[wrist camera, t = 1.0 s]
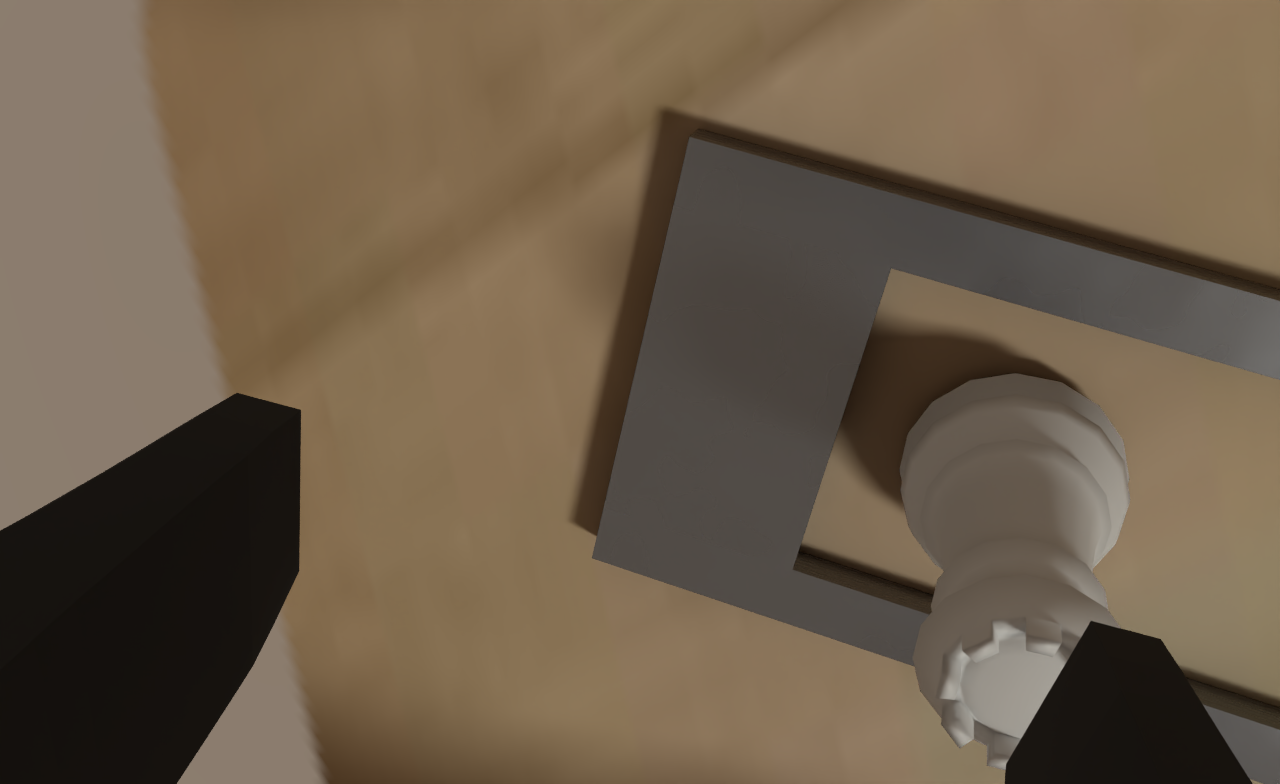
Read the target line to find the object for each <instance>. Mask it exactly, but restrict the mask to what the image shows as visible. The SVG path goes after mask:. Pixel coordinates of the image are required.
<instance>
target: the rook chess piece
mask: <svg viewBox="0 0 1280 784" xmlns="http://www.w3.org/2000/svg"><path fill="white" fill-rule="evenodd" d="M899 471H900V475H901V480H902V485H901V489H900V491H901V495H902V500H903V504H904V508H905V513H906V517H907V522H908V526H909V528H910V530H911V532H912V534H913V536H914V537H915V538H916V540H917V541H918V542H919V544H920V545H921V546H922V548H923V549H924V550H925V552H926V553H927V554H928V556H929V557H930V558H931V560H932V561H933V562H934V564H935V565H937V566H939V567H940V568H942V569H943V571H944V573H943V574H942V575H941V576H940V577H939V578H938V580H937V584H936V588H935V592H934V596H933V600H932V603H931V610H932V613H931V614H930V615H929V616H928V617H927V618H926V620H925V621H924V622H923V623H922V624H921V626H920V630H919V634H918V638H917V642H916V646H915V650H914V654H913V662H914V666H915V670H916V675H917V679H918V683H919V687H920V691H921V693H922V694H923V695H924V696H925V698H926V699H927V700H928V702H929V703H930V704H931V706H932V707H933V708H934V709H935V711H936V712H937V713H938V715H939V716H940V717H941V719H942V722H941V725H942V726H943V727H944V729H945V730H946V731H947V733H948V734H949V735H950V737H951V738H952V739H953V740H954V742H955V743H956V744H957V746H958V747H959V748H961V747H962V746H964V745H965V744H967V743H968V742H970V741H971V740H975V741H977V742H979V743H981V744H984V745H986V746H987V766H991V767H995V768H999V769H1003V770H1006V763H1007V762H1008V760H1009V758H1010V757H1011V755H1012V753H1013V751H1014V750H1015V748H1016V746H1017V745H1018V743H1019V741H1020V740H1021V738H1022V736H1023V735H1024V733H1025V731H1026V730H1027V728H1028V726H1029V724H1030V723H1031V721H1032V719H1033V718H1034V716H1035V714H1036V713H1037V711H1038V709H1039V708H1040V706H1041V704H1042V703H1043V701H1044V699H1045V697H1046V696H1047V694H1048V692H1049V691H1050V689H1051V687H1052V686H1053V684H1054V682H1055V681H1056V679H1057V677H1058V675H1059V674H1060V672H1061V670H1062V669H1063V667H1064V665H1065V664H1066V662H1067V660H1068V659H1069V657H1070V655H1071V654H1072V652H1073V650H1074V648H1075V647H1076V645H1077V643H1078V642H1079V640H1080V638H1081V637H1082V635H1083V633H1084V632H1085V630H1086V628H1087V627H1088V625H1089V623H1090V621H1094V622H1098V623H1102V624H1106V625H1109V626H1113V627H1117V628H1121V627H1120V626H1119V625H1118V623H1117V622H1116V620H1115V619H1114V618H1113V616H1112V615H1111V614H1110V612H1109V611H1108V605H1107V599H1106V593H1105V589H1104V588H1103V586H1102V585H1101V584H1100V582H1099V581H1098V579H1097V578H1096V577H1095V575H1094V574H1093V573H1092V572H1093V568H1094V567H1095V566H1096V565H1097V564H1098V562H1099V561H1100V560H1101V559H1102V558H1103V557H1104V556H1105V555H1106V554H1107V553H1108V552H1109V551H1110V550H1111V549H1112V548H1113V547H1114V546H1115V544H1116V541H1117V539H1118V536H1119V533H1120V530H1121V527H1122V524H1123V521H1124V518H1125V515H1126V512H1127V509H1128V506H1129V503H1130V494H1129V488H1128V482H1129V474H1128V468H1127V462H1126V455H1125V449H1124V442H1123V439H1122V438H1121V436H1120V435H1119V433H1118V432H1117V431H1116V429H1115V428H1114V426H1113V425H1112V423H1111V422H1110V421H1109V419H1108V418H1107V416H1106V415H1105V413H1104V412H1103V410H1102V409H1101V408H1100V406H1099V405H1097V404H1096V403H1094V402H1092V401H1091V400H1089V399H1088V398H1086V397H1084V396H1083V395H1081V394H1080V393H1078V392H1076V391H1075V390H1073V389H1072V388H1070V387H1068V386H1067V385H1065V384H1063V383H1062V382H1058V381H1053V380H1048V379H1043V378H1038V377H1033V376H1027V375H1022V374H1017V373H1013V374H1007V375H1001V376H994V377H988V378H982V379H975V380H970V381H968V382H966V383H964V384H963V385H961V386H959V387H957V388H956V389H954V390H952V391H950V392H949V393H947V394H945V395H943V396H942V397H940V398H938V399H936V400H934V401H933V402H932V403H931V404H930V405H929V407H928V408H927V409H926V411H925V412H924V413H923V414H922V416H921V417H920V418H919V420H918V421H917V422H916V423H915V425H914V426H913V427H912V429H911V430H910V431H909V432H908V435H907V439H906V443H905V448H904V452H903V456H902V461H901V465H900V470H899Z"/></svg>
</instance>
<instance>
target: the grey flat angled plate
mask: <svg viewBox="0 0 1280 784" xmlns="http://www.w3.org/2000/svg"><path fill="white" fill-rule="evenodd" d="M891 268H892V269H896V270H899V271H903V272H906V273H910V274H913V275H917V276H920V277H924V278H927V279H931V280H934V281H938V282H941V283H945V284H948V285H952V286H955V287H959V288H962V289H966V290H969V291H973V292H976V293H979V294H983V295H986V296H990V297H993V298H997V299H1000V300H1004V301H1007V302H1011V303H1014V304H1018V305H1021V306H1025V307H1028V308H1032V309H1035V310H1039V311H1042V312H1046V313H1049V314H1053V315H1056V316H1060V317H1063V318H1066V319H1070V320H1073V321H1077V322H1080V323H1084V324H1087V325H1091V326H1094V327H1098V328H1101V329H1105V330H1108V331H1112V332H1115V333H1119V334H1122V335H1126V336H1129V337H1133V338H1136V339H1140V340H1143V341H1147V342H1150V343H1154V344H1157V345H1160V346H1164V347H1167V348H1171V349H1174V350H1178V351H1181V352H1185V353H1188V354H1192V355H1195V356H1199V357H1202V358H1206V359H1209V360H1213V361H1216V362H1220V363H1223V364H1227V365H1230V366H1234V367H1237V368H1241V369H1244V370H1247V371H1251V372H1254V373H1258V374H1261V375H1265V376H1268V377H1272V378H1275V379H1279V380H1280V290H1279V289H1276V288H1272V287H1268V286H1265V285H1261V284H1257V283H1254V282H1250V281H1247V280H1243V279H1239V278H1236V277H1232V276H1229V275H1225V274H1221V273H1218V272H1214V271H1210V270H1207V269H1203V268H1200V267H1196V266H1192V265H1189V264H1185V263H1182V262H1178V261H1174V260H1171V259H1167V258H1163V257H1160V256H1156V255H1153V254H1149V253H1145V252H1142V251H1138V250H1135V249H1131V248H1127V247H1124V246H1120V245H1117V244H1113V243H1109V242H1106V241H1102V240H1098V239H1095V238H1091V237H1088V236H1084V235H1080V234H1077V233H1073V232H1070V231H1066V230H1062V229H1059V228H1055V227H1051V226H1048V225H1044V224H1041V223H1037V222H1033V221H1030V220H1026V219H1023V218H1019V217H1015V216H1012V215H1008V214H1004V213H1001V212H997V211H994V210H990V209H986V208H983V207H979V206H976V205H972V204H968V203H965V202H961V201H957V200H954V199H950V198H947V197H943V196H939V195H936V194H932V193H929V192H925V191H921V190H918V189H914V188H911V187H907V186H903V185H900V184H896V183H892V182H889V181H885V180H882V179H878V178H874V177H871V176H867V175H864V174H860V173H856V172H853V171H849V170H845V169H842V168H838V167H835V166H831V165H827V164H824V163H820V162H817V161H813V160H809V159H806V158H802V157H798V156H795V155H791V154H788V153H784V152H780V151H777V150H773V149H770V148H766V147H762V146H759V145H755V144H752V143H748V142H744V141H741V140H737V139H733V138H730V137H726V136H723V135H719V134H715V133H712V132H708V131H705V130H701V129H697V130H696V131H695V132H694V133H693V134H692V135H691V136H690V137H689V141H688V145H687V149H686V154H685V158H684V162H683V167H682V171H681V175H680V180H679V184H678V188H677V193H676V197H675V201H674V206H673V210H672V214H671V219H670V223H669V227H668V231H667V236H666V240H665V244H664V249H663V253H662V257H661V262H660V266H659V270H658V275H657V279H656V283H655V288H654V292H653V296H652V301H651V305H650V309H649V314H648V318H647V322H646V327H645V331H644V335H643V340H642V344H641V348H640V353H639V357H638V361H637V366H636V370H635V374H634V379H633V383H632V387H631V391H630V396H629V400H628V404H627V409H626V413H625V417H624V422H623V426H622V430H621V435H620V439H619V443H618V448H617V452H616V456H615V461H614V465H613V469H612V474H611V478H610V482H609V487H608V491H607V495H606V500H605V504H604V508H603V513H602V517H601V521H600V526H599V530H598V534H597V539H596V543H595V547H594V551H593V556H592V558H593V559H596V560H599V561H602V562H605V563H608V564H611V565H614V566H617V567H620V568H623V569H626V570H629V571H632V572H635V573H638V574H641V575H644V576H647V577H650V578H653V579H656V580H659V581H662V582H665V583H668V584H671V585H674V586H677V587H680V588H683V589H686V590H689V591H692V592H694V593H697V594H700V595H703V596H706V597H709V598H712V599H715V600H718V601H721V602H724V603H727V604H730V605H733V606H736V607H739V608H742V609H745V610H748V611H751V612H754V613H757V614H760V615H763V616H766V617H769V618H772V619H775V620H778V621H781V622H784V623H787V624H790V625H793V626H796V627H799V628H802V629H805V630H808V631H811V632H814V633H817V634H820V635H823V636H826V637H829V638H832V639H835V640H838V641H841V642H843V643H846V644H849V645H852V646H855V647H858V648H861V649H864V650H867V651H870V652H873V653H876V654H879V655H882V656H885V657H888V658H891V659H894V660H897V661H900V662H903V663H906V664H909V665H912V666H914V662H913V654H914V650H915V646H916V642H917V638H918V634H919V630H920V626H921V624H922V623H923V622H924V621H925V620H926V618H927V617H928V616H929V615H930V614H931V613H932V610H931V603H932V600H933V596H934V595H931V594H928V593H925V592H922V591H918V590H915V589H912V588H909V587H906V586H903V585H900V584H897V583H894V582H891V581H888V580H885V579H882V578H879V577H876V576H872V575H869V574H866V573H863V572H860V571H857V570H854V569H851V568H848V567H845V566H842V565H839V564H836V563H833V562H830V561H826V560H823V559H820V558H817V557H814V556H811V555H808V554H805V553H802V552H799V548H800V545H801V542H802V539H803V536H804V533H805V530H806V527H807V524H808V521H809V518H810V515H811V511H812V508H813V505H814V502H815V499H816V496H817V493H818V490H819V487H820V484H821V481H822V478H823V475H824V472H825V469H826V466H827V463H828V459H829V456H830V453H831V450H832V447H833V444H834V441H835V438H836V435H837V432H838V429H839V426H840V423H841V420H842V417H843V414H844V411H845V407H846V404H847V401H848V398H849V395H850V392H851V389H852V386H853V383H854V380H855V377H856V374H857V371H858V368H859V365H860V362H861V359H862V355H863V352H864V349H865V346H866V343H867V340H868V337H869V334H870V331H871V328H872V325H873V322H874V319H875V316H876V313H877V310H878V307H879V303H880V300H881V297H882V294H883V291H884V288H885V285H886V282H887V279H888V276H889V273H890V270H891ZM1186 679H1187V680H1188V682H1189V684H1190V685H1191V687H1192V688H1193V690H1194V691H1195V693H1196V695H1197V696H1198V698H1199V699H1200V701H1201V703H1202V704H1203V706H1204V707H1205V709H1206V711H1207V712H1208V714H1209V715H1210V717H1211V719H1212V720H1213V722H1214V723H1215V725H1216V727H1217V728H1218V730H1219V731H1220V733H1221V735H1222V736H1223V738H1224V739H1225V741H1226V743H1227V744H1228V746H1229V747H1230V749H1231V750H1232V752H1233V754H1234V755H1235V757H1236V758H1237V760H1238V762H1239V763H1240V765H1241V766H1242V768H1243V769H1244V771H1245V773H1246V774H1247V776H1248V777H1249V779H1252V780H1255V781H1258V782H1261V783H1264V784H1280V708H1277V707H1274V706H1271V705H1268V704H1265V703H1262V702H1259V701H1256V700H1253V699H1250V698H1247V697H1244V696H1240V695H1237V694H1234V693H1231V692H1228V691H1225V690H1222V689H1219V688H1216V687H1213V686H1210V685H1207V684H1204V683H1201V682H1198V681H1194V680H1191V679H1188V678H1186Z"/></svg>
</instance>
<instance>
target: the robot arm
mask: <svg viewBox="0 0 1280 784" xmlns="http://www.w3.org/2000/svg"><path fill="white" fill-rule="evenodd" d="M300 445H301V410H299V409H295V408H292V407H288V406H284V405H280V404H277V403H273V402H269V401H265V400H262V399H258V398H254V397H250V396H247V395H243V394H239V393H236V394H234V395H232V396H231V397H229V398H227V399H226V400H224V401H222V402H220V403H219V404H217V405H215V406H213V407H212V408H210V409H208V410H206V411H205V412H203V413H201V414H200V415H198V416H196V417H194V418H193V419H191V420H189V421H188V422H186V423H184V424H183V425H181V426H180V427H178V428H176V429H174V430H173V431H171V432H169V433H168V434H166V435H164V436H163V437H161V438H160V439H158V440H156V441H155V442H153V443H151V444H150V445H148V446H146V447H145V448H143V449H141V450H140V451H138V452H136V453H135V454H133V455H131V456H130V457H128V458H126V459H125V460H123V461H121V462H119V463H118V464H116V465H115V466H113V467H111V468H109V469H108V470H106V471H105V472H103V473H101V474H99V475H98V476H96V477H94V478H92V479H91V480H89V481H87V482H86V483H84V484H82V485H80V486H78V487H77V488H75V489H73V490H71V491H70V492H68V493H66V494H65V495H63V496H61V497H59V498H58V499H56V500H54V501H52V502H51V503H49V504H47V505H45V506H44V507H42V508H40V509H38V510H37V511H35V512H33V513H31V514H30V515H28V516H26V517H25V518H23V519H21V520H19V521H17V522H16V523H14V524H12V525H10V526H8V527H6V528H4V529H3V530H1V531H0V784H177V782H178V781H179V779H180V778H181V776H182V775H183V773H184V771H185V770H186V768H187V767H188V766H189V764H190V762H191V761H192V759H193V758H194V756H195V755H196V753H197V752H198V750H199V749H200V747H201V746H202V744H203V743H204V741H205V740H206V738H207V737H208V735H209V733H210V732H211V730H212V729H213V727H214V726H215V724H216V723H217V721H218V719H219V718H220V716H221V715H222V713H223V712H224V710H225V709H226V707H227V706H228V704H229V702H230V701H231V699H232V698H233V696H234V695H235V693H236V692H237V690H238V689H239V687H240V685H241V684H242V682H243V681H244V679H245V678H246V676H247V674H248V673H249V671H250V670H251V668H252V666H253V665H254V663H255V661H256V659H257V656H258V655H259V653H260V651H261V649H262V647H263V645H264V643H265V641H266V639H267V637H268V635H269V633H270V631H271V629H272V627H273V625H274V623H275V621H276V619H277V617H278V614H279V612H280V610H281V608H282V606H283V604H284V602H285V600H286V597H287V595H288V593H289V591H290V589H291V587H292V585H293V583H294V581H295V578H296V576H297V574H298V572H299V536H300ZM1005 784H1252V782H1251V781H1250V779H1249V777H1248V776H1247V774H1246V773H1245V771H1244V769H1243V768H1242V766H1241V765H1240V763H1239V762H1238V760H1237V758H1236V757H1235V755H1234V754H1233V752H1232V750H1231V749H1230V747H1229V746H1228V744H1227V743H1226V741H1225V739H1224V738H1223V736H1222V735H1221V733H1220V731H1219V730H1218V728H1217V727H1216V725H1215V723H1214V722H1213V720H1212V719H1211V717H1210V715H1209V714H1208V712H1207V711H1206V709H1205V707H1204V706H1203V704H1202V703H1201V701H1200V699H1199V698H1198V696H1197V695H1196V693H1195V691H1194V690H1193V688H1192V687H1191V685H1190V684H1189V682H1188V680H1187V679H1186V677H1185V676H1184V674H1183V673H1182V671H1181V669H1180V668H1179V666H1178V665H1177V663H1176V662H1175V660H1174V659H1173V657H1172V656H1171V654H1170V652H1169V651H1168V649H1167V648H1166V646H1165V645H1164V643H1163V642H1162V640H1161V639H1158V638H1154V637H1151V636H1147V635H1143V634H1139V633H1136V632H1132V631H1128V630H1124V629H1121V628H1117V627H1113V626H1109V625H1106V624H1102V623H1098V622H1094V621H1090V623H1089V625H1088V627H1087V628H1086V630H1085V632H1084V633H1083V635H1082V637H1081V638H1080V640H1079V642H1078V643H1077V645H1076V647H1075V648H1074V650H1073V652H1072V654H1071V655H1070V657H1069V659H1068V660H1067V662H1066V664H1065V665H1064V667H1063V669H1062V670H1061V672H1060V674H1059V675H1058V677H1057V679H1056V681H1055V682H1054V684H1053V686H1052V687H1051V689H1050V691H1049V692H1048V694H1047V696H1046V697H1045V699H1044V701H1043V703H1042V704H1041V706H1040V708H1039V709H1038V711H1037V713H1036V714H1035V716H1034V718H1033V719H1032V721H1031V723H1030V724H1029V726H1028V728H1027V730H1026V731H1025V733H1024V735H1023V736H1022V738H1021V740H1020V741H1019V743H1018V745H1017V746H1016V748H1015V750H1014V751H1013V753H1012V755H1011V757H1010V758H1009V760H1008V762H1007V763H1006V773H1005Z"/></svg>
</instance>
